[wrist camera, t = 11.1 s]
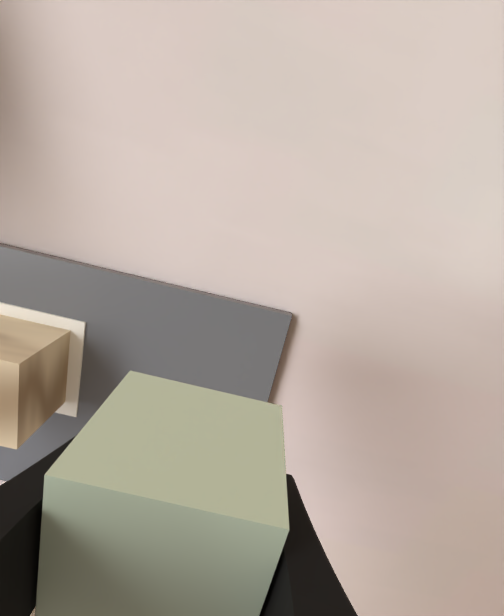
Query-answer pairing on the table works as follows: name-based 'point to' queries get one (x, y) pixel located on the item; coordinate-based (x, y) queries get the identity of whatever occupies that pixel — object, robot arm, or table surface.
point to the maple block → (30, 376)
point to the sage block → (165, 506)
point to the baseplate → (133, 338)
